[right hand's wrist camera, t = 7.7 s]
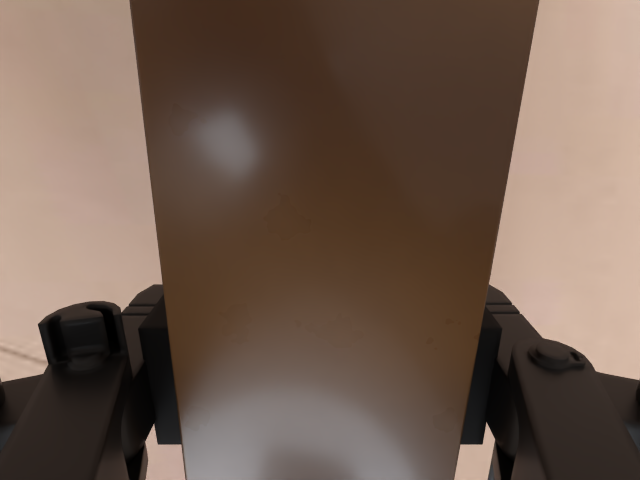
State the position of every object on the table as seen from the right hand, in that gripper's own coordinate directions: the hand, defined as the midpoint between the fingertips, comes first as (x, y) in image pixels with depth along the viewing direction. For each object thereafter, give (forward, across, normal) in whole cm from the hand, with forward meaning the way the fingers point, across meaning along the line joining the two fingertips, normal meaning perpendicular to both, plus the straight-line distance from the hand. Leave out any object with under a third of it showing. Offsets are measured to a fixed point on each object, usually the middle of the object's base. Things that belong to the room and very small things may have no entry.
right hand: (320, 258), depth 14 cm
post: (+1, 0, -18) cm, 18 cm away
